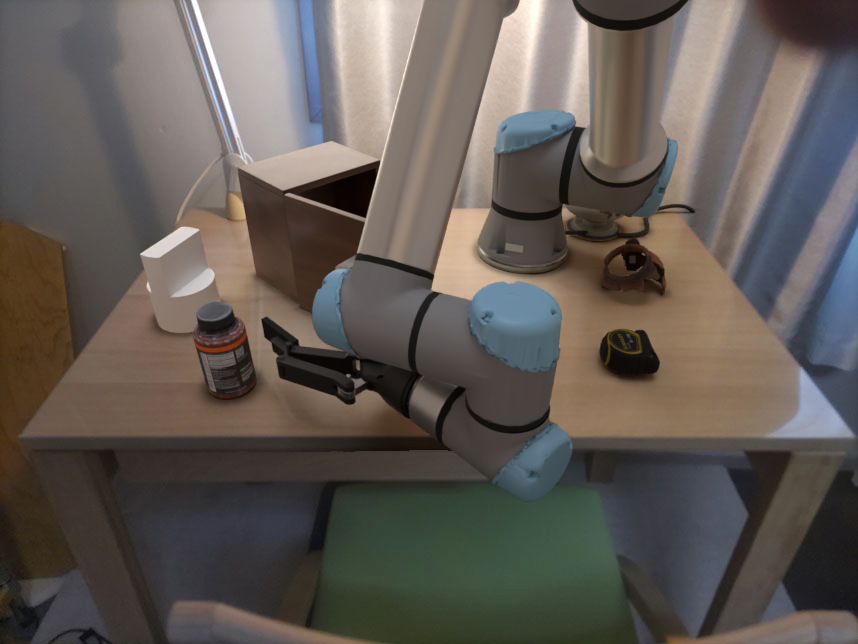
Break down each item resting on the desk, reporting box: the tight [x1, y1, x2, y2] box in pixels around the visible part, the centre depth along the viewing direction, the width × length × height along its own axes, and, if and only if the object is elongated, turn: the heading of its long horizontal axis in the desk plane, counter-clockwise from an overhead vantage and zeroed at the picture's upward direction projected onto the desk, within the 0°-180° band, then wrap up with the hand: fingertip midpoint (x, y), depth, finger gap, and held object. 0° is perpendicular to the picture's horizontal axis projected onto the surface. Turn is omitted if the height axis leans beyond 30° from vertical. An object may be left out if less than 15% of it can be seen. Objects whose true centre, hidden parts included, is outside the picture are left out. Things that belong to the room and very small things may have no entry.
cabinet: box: [236, 140, 381, 305], centre depth 93 cm, size 12×17×18 cm
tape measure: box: [598, 328, 661, 377], centre depth 78 cm, size 7×7×4 cm
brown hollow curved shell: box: [600, 237, 667, 296], centre depth 94 cm, size 12×10×8 cm
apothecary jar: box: [564, 204, 626, 242], centre depth 106 cm, size 12×12×18 cm
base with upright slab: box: [139, 226, 222, 334], centre depth 84 cm, size 9×9×12 cm
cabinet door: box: [284, 193, 366, 314], centre depth 79 cm, size 7×17×18 cm, turn 55°
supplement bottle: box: [192, 301, 257, 400], centre depth 72 cm, size 6×6×11 cm
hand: (307, 307), depth 75 cm, fingers open, 11 cm apart
